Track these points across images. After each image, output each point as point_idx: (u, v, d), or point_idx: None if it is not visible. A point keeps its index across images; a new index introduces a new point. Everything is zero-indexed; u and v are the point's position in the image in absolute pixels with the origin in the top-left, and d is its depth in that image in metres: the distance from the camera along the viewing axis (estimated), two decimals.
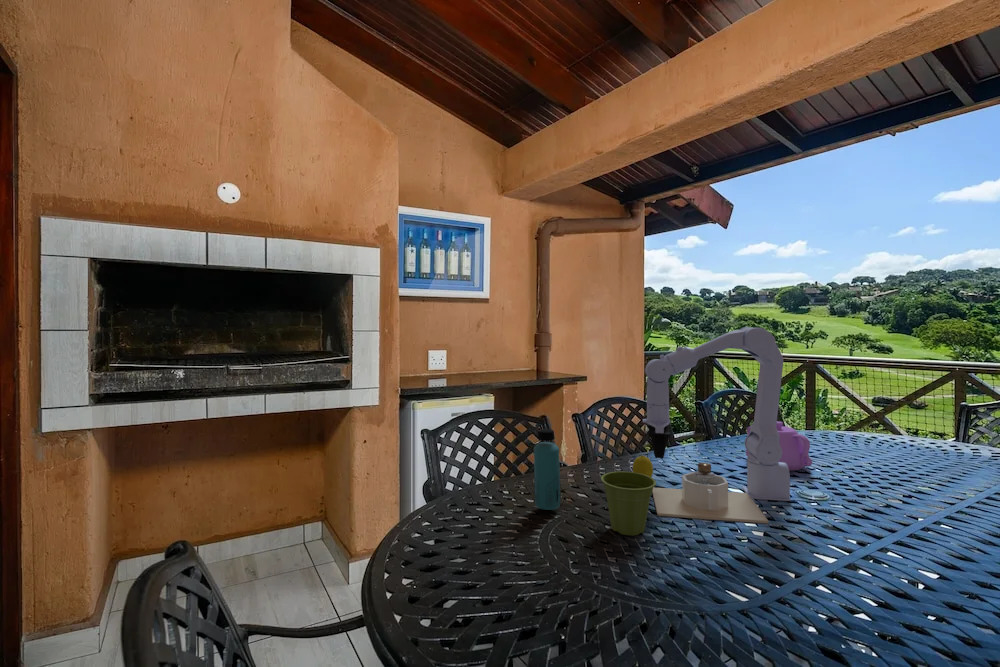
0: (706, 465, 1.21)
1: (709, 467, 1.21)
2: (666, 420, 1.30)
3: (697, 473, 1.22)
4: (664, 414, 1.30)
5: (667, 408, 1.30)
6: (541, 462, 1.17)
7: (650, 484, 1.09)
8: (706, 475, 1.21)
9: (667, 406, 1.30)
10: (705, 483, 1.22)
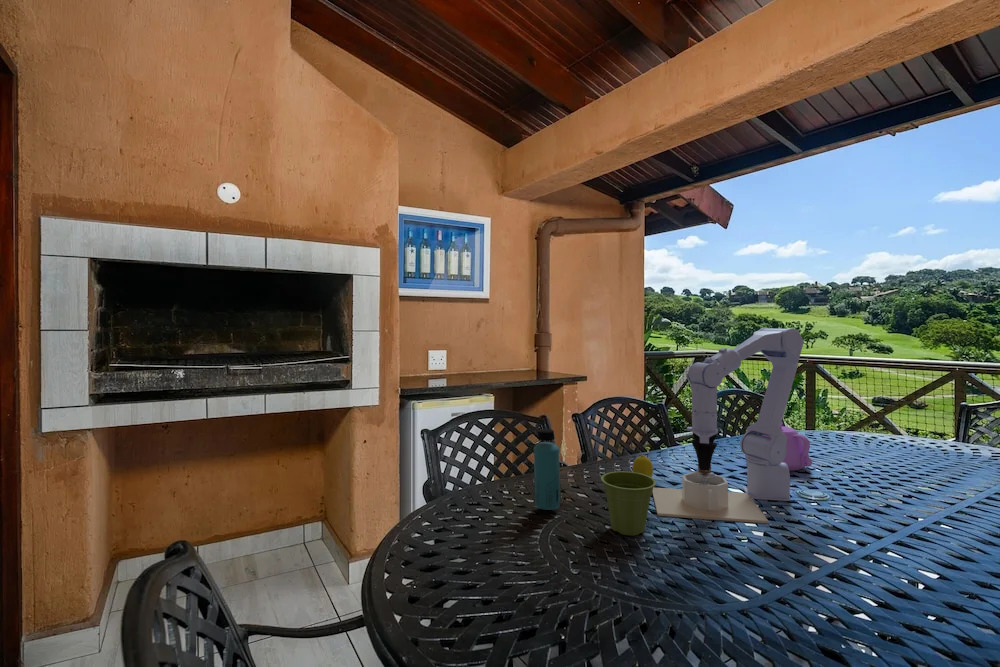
0: None
1: None
2: (713, 429, 1.19)
3: (697, 473, 1.22)
4: (711, 422, 1.19)
5: (714, 416, 1.19)
6: (541, 462, 1.17)
7: (650, 484, 1.09)
8: (706, 475, 1.21)
9: (714, 414, 1.19)
10: (705, 483, 1.22)
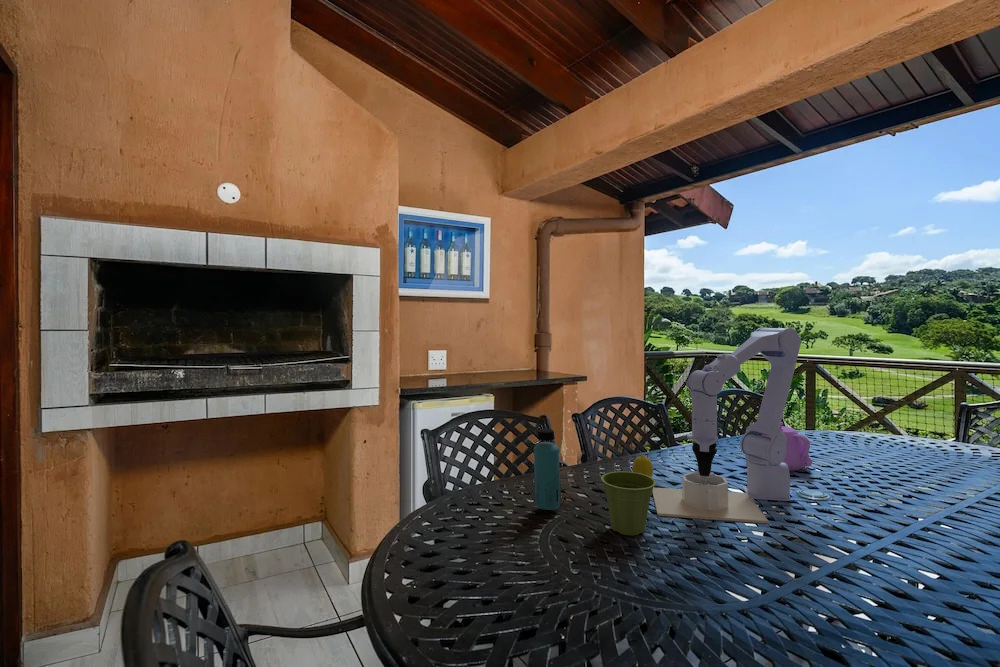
0: None
1: None
2: (713, 437, 1.19)
3: (697, 473, 1.22)
4: (711, 430, 1.19)
5: (714, 424, 1.19)
6: (541, 462, 1.17)
7: (650, 484, 1.09)
8: None
9: (714, 422, 1.19)
10: (705, 483, 1.22)
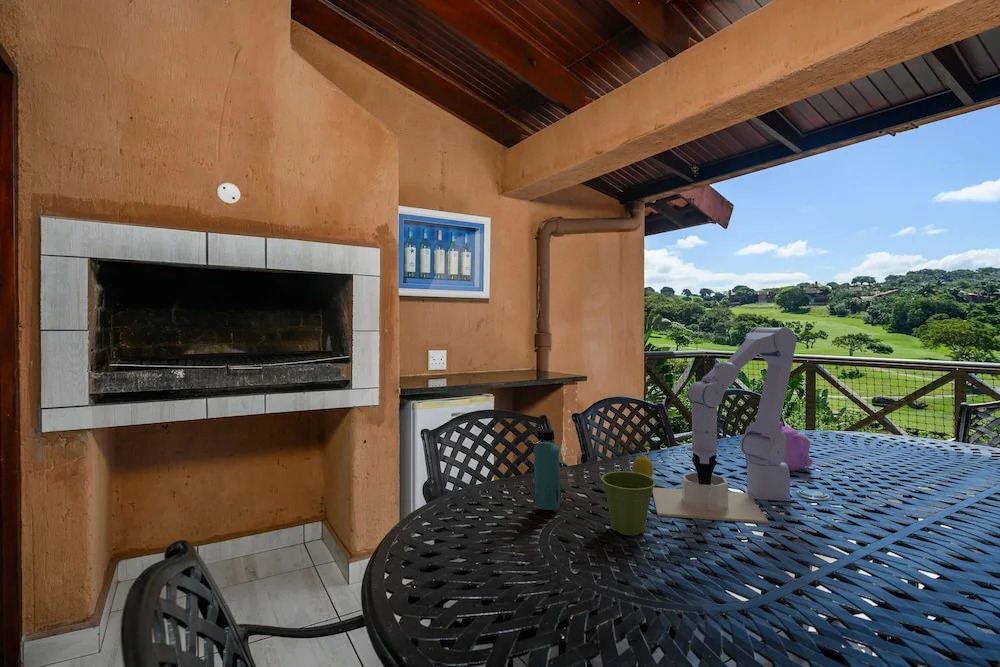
0: None
1: None
2: (713, 449, 1.19)
3: None
4: (711, 442, 1.19)
5: (714, 436, 1.20)
6: (541, 462, 1.17)
7: (650, 484, 1.09)
8: None
9: (714, 434, 1.20)
10: None
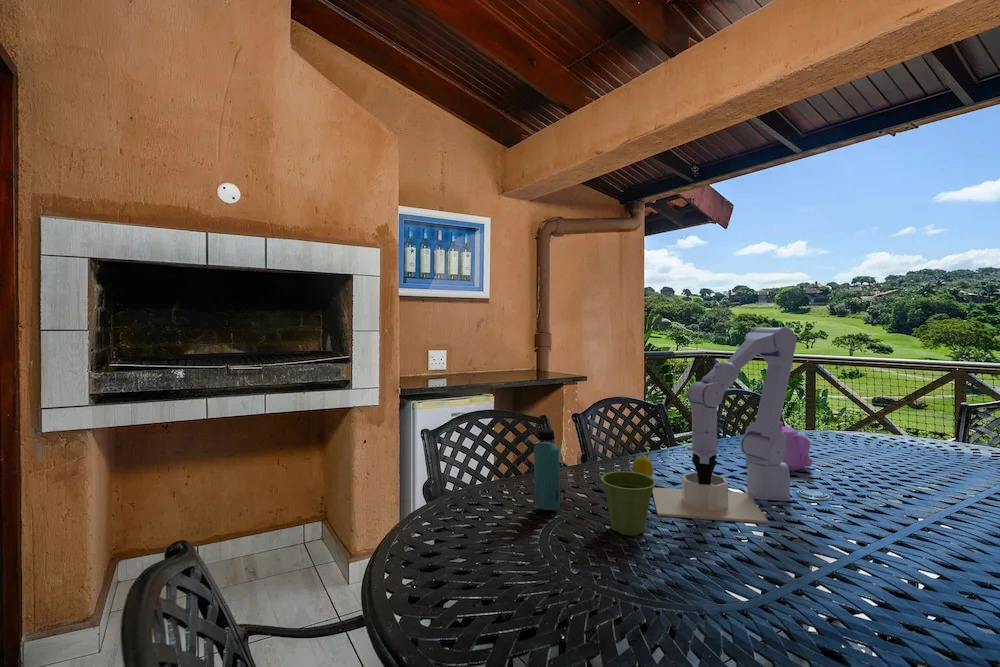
0: None
1: None
2: (713, 449, 1.19)
3: None
4: (711, 442, 1.19)
5: (714, 436, 1.20)
6: (541, 462, 1.17)
7: (650, 484, 1.09)
8: None
9: (714, 434, 1.20)
10: None
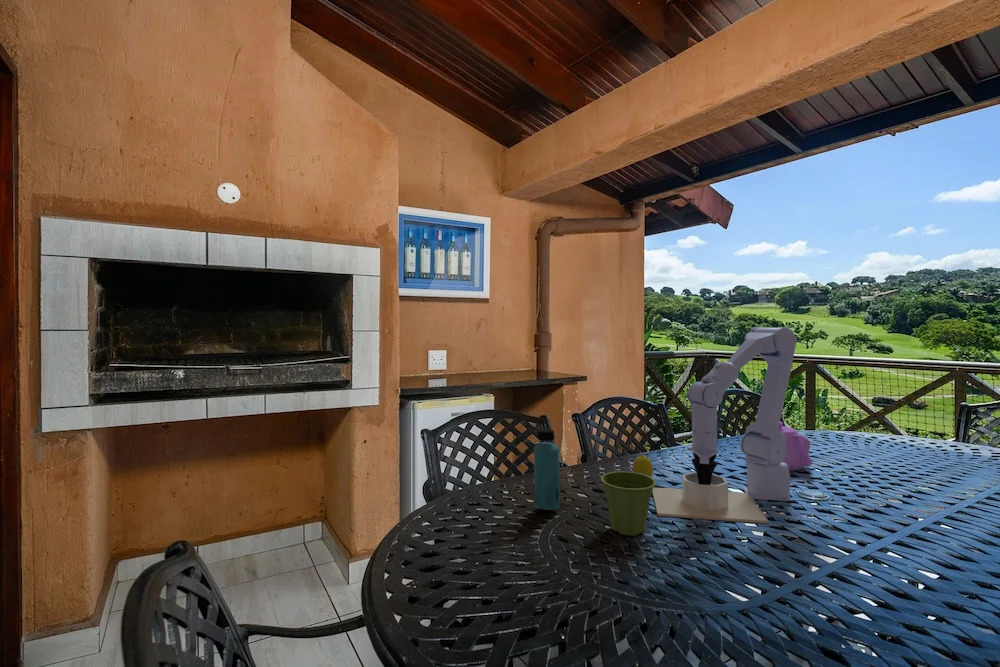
0: None
1: None
2: (713, 449, 1.19)
3: None
4: (711, 442, 1.19)
5: (714, 436, 1.20)
6: (541, 462, 1.17)
7: (650, 484, 1.09)
8: None
9: (714, 434, 1.20)
10: None
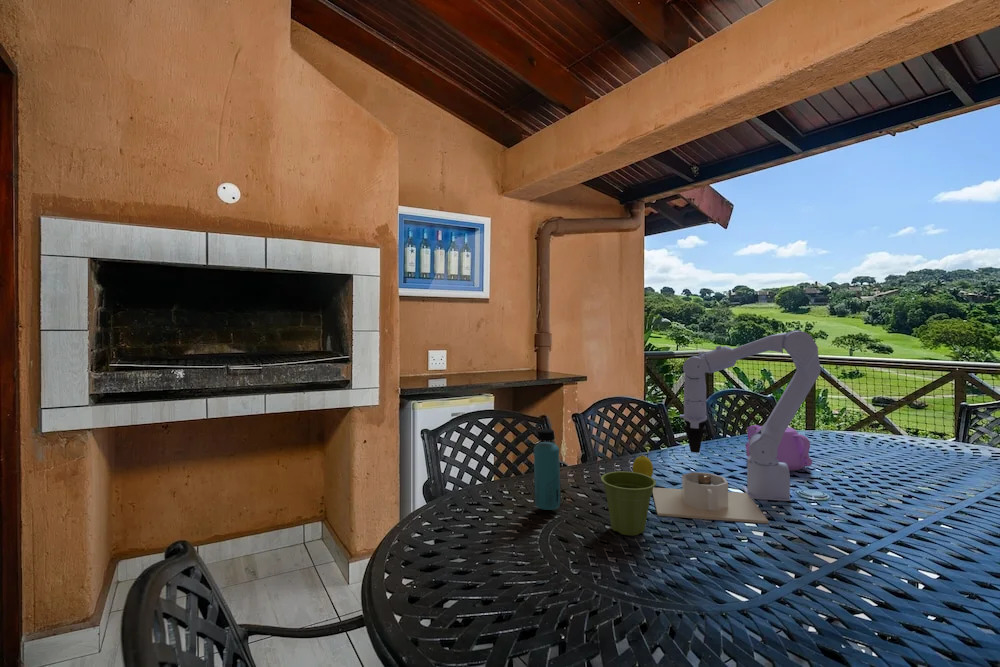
0: (706, 477, 1.21)
1: (709, 479, 1.21)
2: (703, 416, 1.33)
3: None
4: (701, 410, 1.33)
5: (704, 404, 1.33)
6: (541, 462, 1.17)
7: (650, 484, 1.09)
8: None
9: (704, 402, 1.33)
10: None
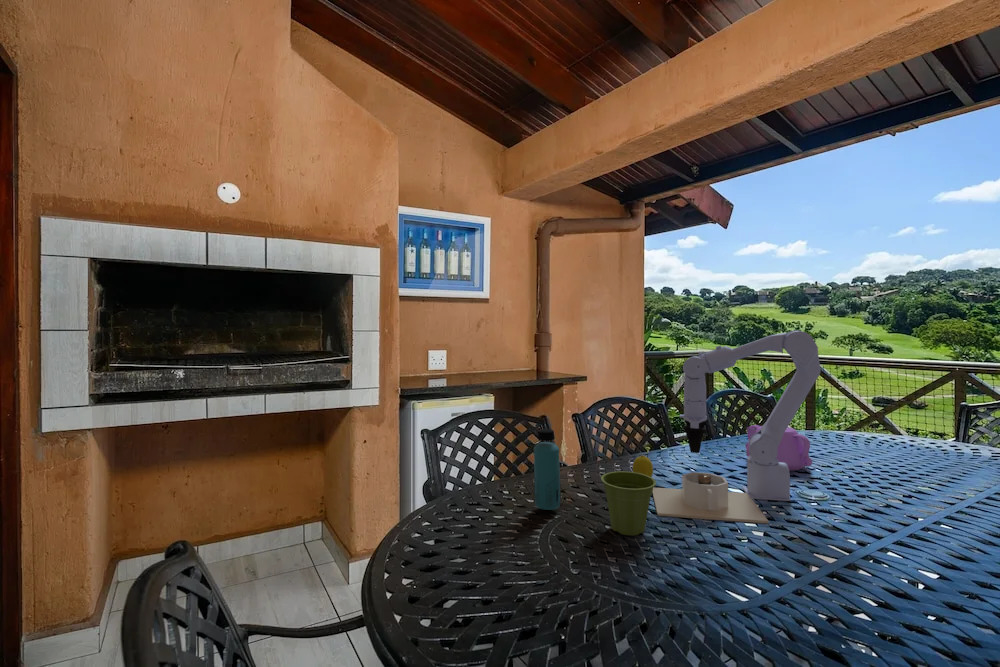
0: (706, 477, 1.21)
1: (709, 479, 1.21)
2: (703, 416, 1.33)
3: None
4: (701, 410, 1.33)
5: (704, 404, 1.33)
6: (541, 462, 1.17)
7: (650, 484, 1.09)
8: None
9: (704, 402, 1.33)
10: None
